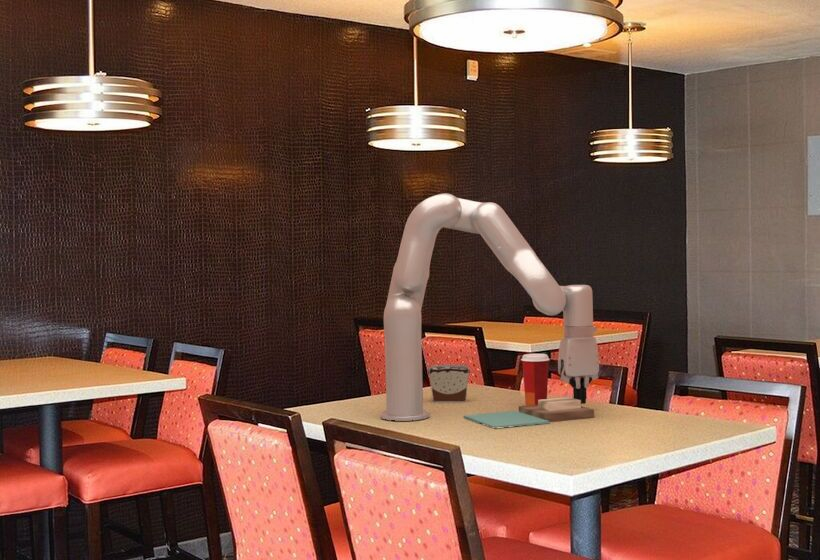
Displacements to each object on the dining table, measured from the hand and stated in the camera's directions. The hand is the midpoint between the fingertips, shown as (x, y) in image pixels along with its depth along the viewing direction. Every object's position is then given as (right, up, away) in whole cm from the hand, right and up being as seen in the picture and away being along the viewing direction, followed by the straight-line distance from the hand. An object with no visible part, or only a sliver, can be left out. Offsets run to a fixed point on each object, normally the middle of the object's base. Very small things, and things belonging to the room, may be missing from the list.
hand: (580, 402), depth 269 cm
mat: (-20, -4, -8) cm, 22 cm away
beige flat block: (-6, 0, -2) cm, 6 cm away
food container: (-32, -3, +27) cm, 42 cm away
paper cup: (-10, -3, +13) cm, 17 cm away
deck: (-7, -3, -3) cm, 8 cm away
